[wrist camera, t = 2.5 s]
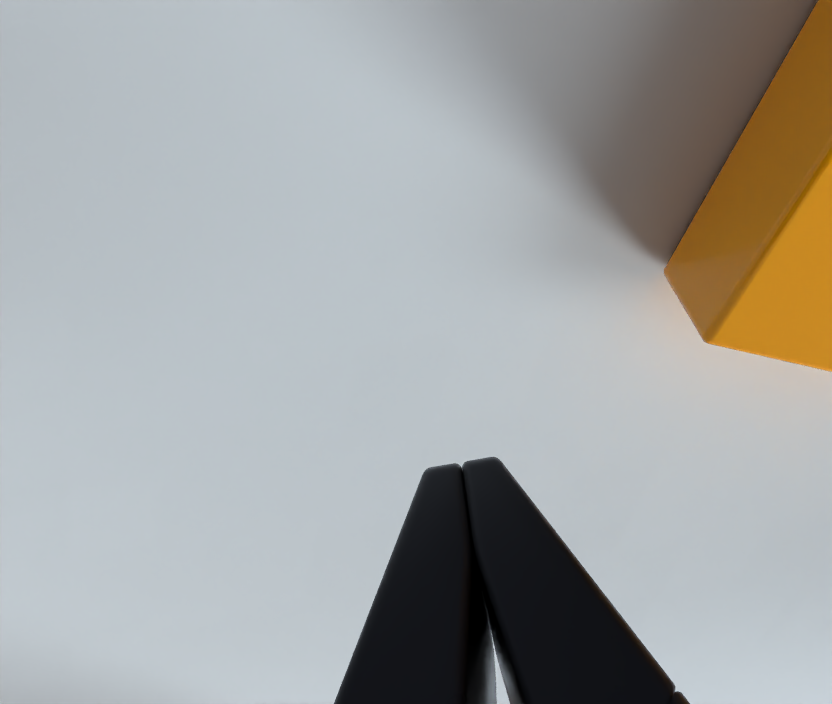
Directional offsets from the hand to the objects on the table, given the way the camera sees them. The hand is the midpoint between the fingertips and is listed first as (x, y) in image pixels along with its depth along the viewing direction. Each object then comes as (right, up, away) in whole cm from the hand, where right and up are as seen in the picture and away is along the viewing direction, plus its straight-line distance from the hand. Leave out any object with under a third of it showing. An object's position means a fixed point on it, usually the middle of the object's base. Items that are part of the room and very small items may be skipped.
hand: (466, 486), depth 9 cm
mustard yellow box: (+9, +5, +4) cm, 11 cm away
